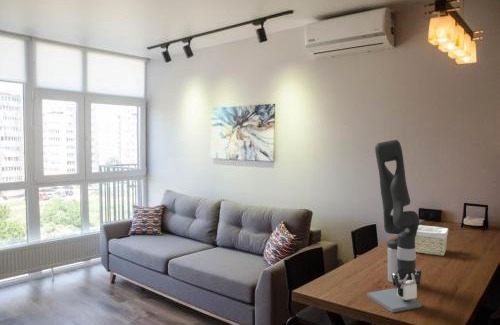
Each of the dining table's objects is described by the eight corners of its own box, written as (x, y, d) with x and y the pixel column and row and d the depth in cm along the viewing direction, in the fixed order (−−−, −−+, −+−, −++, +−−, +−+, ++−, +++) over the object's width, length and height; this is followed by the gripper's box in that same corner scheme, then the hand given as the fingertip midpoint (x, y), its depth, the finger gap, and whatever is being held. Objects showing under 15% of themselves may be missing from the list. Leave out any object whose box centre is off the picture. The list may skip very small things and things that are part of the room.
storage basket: (448, 250, 243) (448, 227, 242) (446, 257, 229) (446, 233, 228) (408, 245, 256) (408, 223, 255) (403, 252, 242) (403, 229, 241)
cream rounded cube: (407, 293, 171) (407, 279, 171) (416, 297, 166) (416, 284, 165) (397, 294, 170) (397, 281, 169) (405, 299, 164) (405, 286, 164)
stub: (407, 298, 170) (407, 289, 170) (412, 301, 167) (412, 292, 166) (401, 299, 169) (401, 291, 169) (406, 302, 166) (406, 293, 166)
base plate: (394, 291, 182) (394, 288, 182) (421, 306, 165) (421, 303, 165) (366, 296, 178) (366, 293, 177) (392, 312, 160) (392, 309, 160)
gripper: (414, 252, 172) (414, 289, 173) (386, 256, 168) (387, 294, 169) (426, 257, 165) (426, 295, 166) (398, 261, 161) (398, 301, 162)
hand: (406, 294), depth 168 cm, fingers closed on cream rounded cube, 5 cm apart
